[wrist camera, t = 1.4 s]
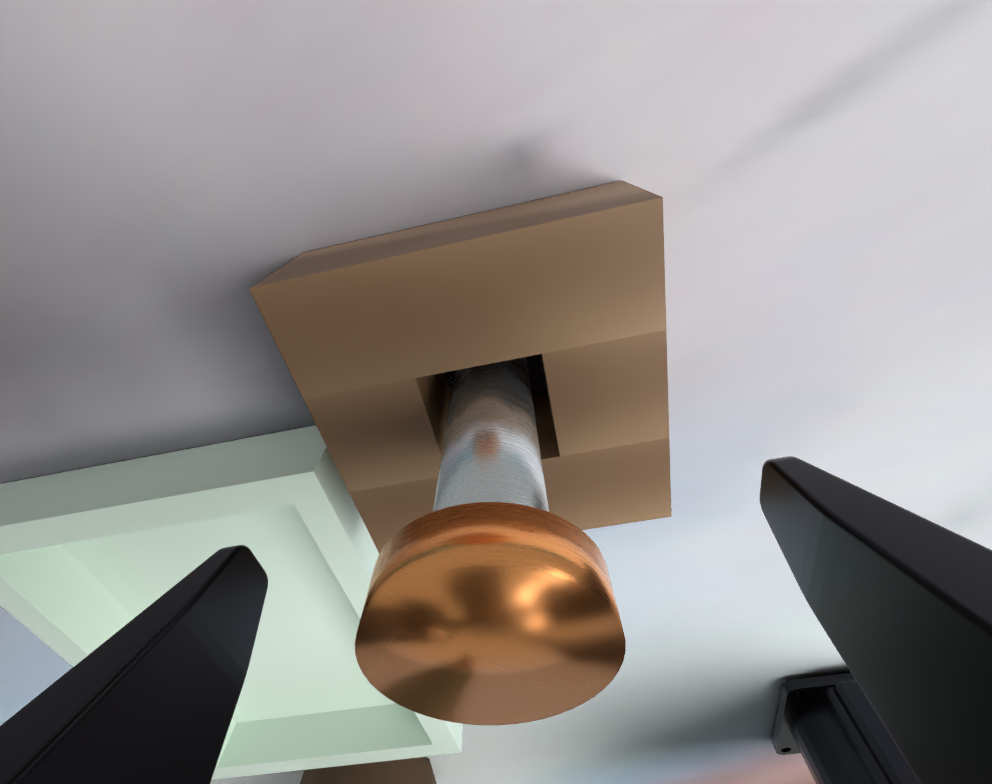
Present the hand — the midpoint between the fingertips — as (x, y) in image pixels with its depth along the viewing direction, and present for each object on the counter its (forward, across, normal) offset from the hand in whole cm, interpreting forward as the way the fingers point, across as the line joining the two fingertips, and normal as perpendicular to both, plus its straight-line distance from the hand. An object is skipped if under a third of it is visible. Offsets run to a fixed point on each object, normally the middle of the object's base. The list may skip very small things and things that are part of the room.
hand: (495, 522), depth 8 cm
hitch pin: (+6, 0, 0) cm, 6 cm away
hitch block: (+6, 0, 0) cm, 6 cm away
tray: (+6, +11, +9) cm, 15 cm away
